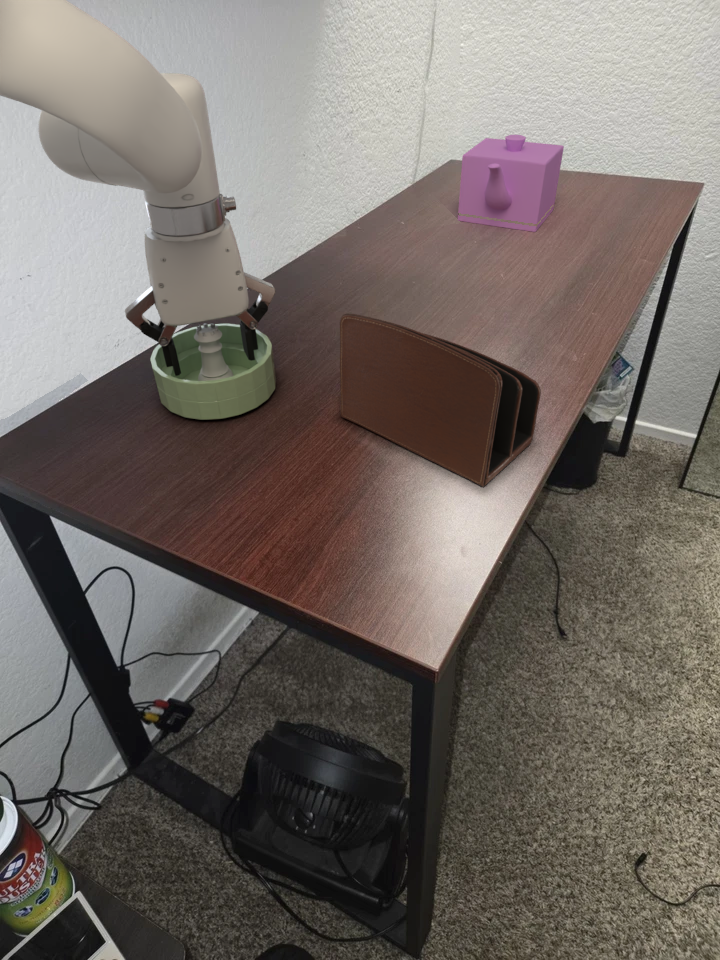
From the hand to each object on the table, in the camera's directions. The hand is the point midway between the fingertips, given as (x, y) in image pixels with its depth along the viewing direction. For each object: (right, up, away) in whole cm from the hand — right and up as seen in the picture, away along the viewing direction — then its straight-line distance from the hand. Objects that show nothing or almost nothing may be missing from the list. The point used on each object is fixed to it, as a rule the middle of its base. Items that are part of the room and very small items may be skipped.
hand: (213, 362), depth 79 cm
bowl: (0, -3, +3) cm, 4 cm away
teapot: (+46, +36, +48) cm, 76 cm away
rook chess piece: (0, -3, +2) cm, 4 cm away
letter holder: (+26, -9, -4) cm, 28 cm away
